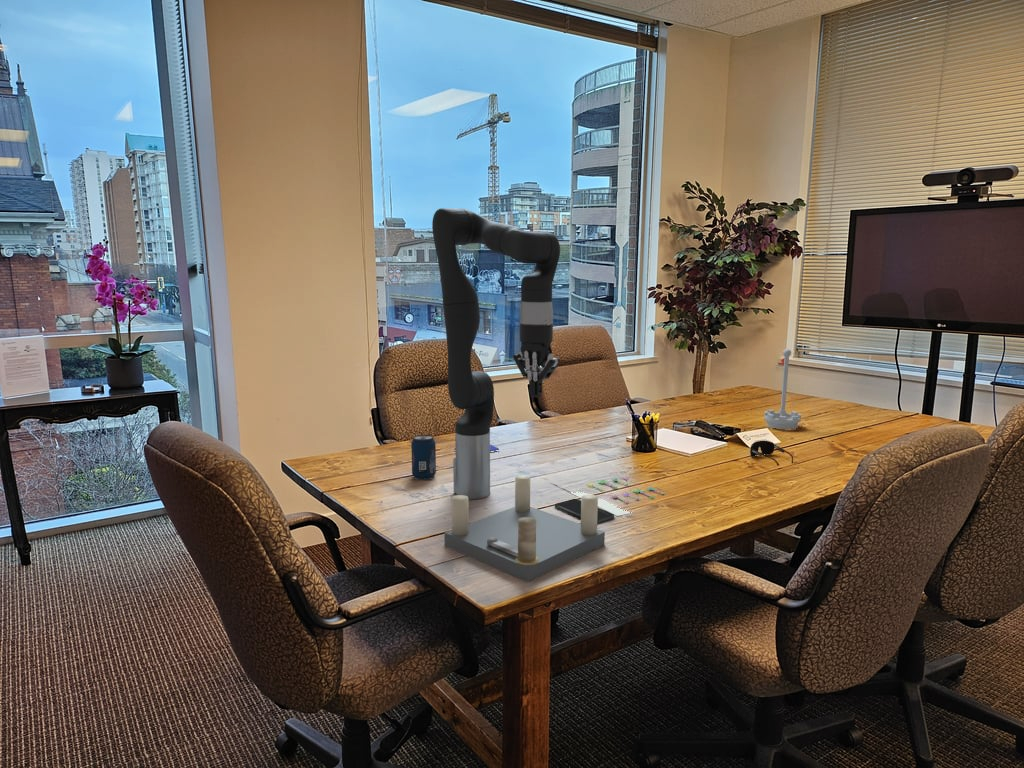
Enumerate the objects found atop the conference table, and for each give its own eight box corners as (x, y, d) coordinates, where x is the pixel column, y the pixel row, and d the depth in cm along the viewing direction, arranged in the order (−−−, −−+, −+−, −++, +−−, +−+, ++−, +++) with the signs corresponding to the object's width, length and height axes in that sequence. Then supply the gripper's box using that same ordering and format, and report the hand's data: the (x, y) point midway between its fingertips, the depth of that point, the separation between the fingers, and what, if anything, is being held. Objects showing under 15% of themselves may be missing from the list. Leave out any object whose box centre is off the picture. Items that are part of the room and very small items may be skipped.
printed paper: (549, 483, 192) (549, 478, 192) (631, 470, 207) (631, 465, 207) (617, 517, 167) (617, 511, 166) (704, 498, 182) (704, 493, 182)
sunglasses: (769, 453, 223) (772, 438, 222) (797, 467, 213) (800, 452, 212) (745, 456, 219) (747, 442, 218) (772, 471, 209) (775, 456, 207)
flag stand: (806, 430, 253) (812, 351, 247) (771, 431, 253) (777, 351, 247) (791, 422, 266) (797, 347, 260) (758, 422, 265) (763, 347, 260)
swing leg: (482, 544, 141) (482, 508, 140) (494, 539, 144) (494, 504, 142) (527, 563, 132) (527, 525, 131) (539, 558, 135) (539, 520, 133)
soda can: (413, 473, 200) (412, 434, 198) (437, 473, 200) (436, 434, 198) (410, 480, 194) (409, 440, 191) (434, 480, 194) (434, 440, 191)
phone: (592, 522, 161) (552, 504, 173) (592, 526, 161) (552, 508, 173) (616, 515, 165) (576, 498, 177) (616, 519, 166) (576, 502, 177)
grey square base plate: (444, 545, 149) (443, 497, 147) (522, 515, 167) (522, 472, 165) (527, 582, 132) (528, 528, 130) (604, 544, 150) (605, 497, 148)
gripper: (504, 320, 155) (503, 394, 158) (547, 324, 146) (546, 402, 149) (526, 319, 161) (525, 390, 164) (569, 322, 152) (568, 398, 155)
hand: (535, 396), depth 157 cm, fingers closed
